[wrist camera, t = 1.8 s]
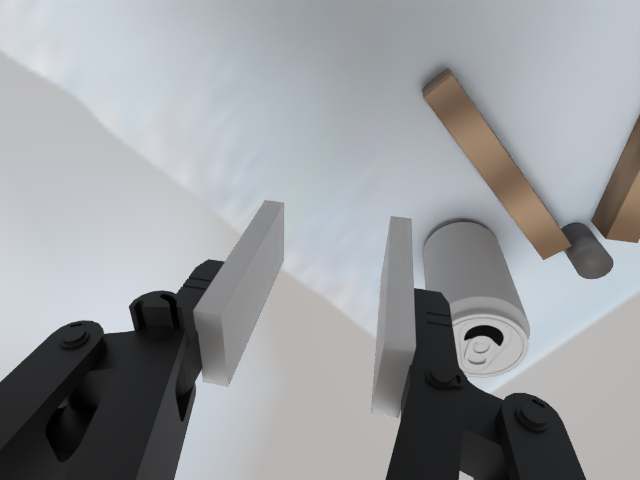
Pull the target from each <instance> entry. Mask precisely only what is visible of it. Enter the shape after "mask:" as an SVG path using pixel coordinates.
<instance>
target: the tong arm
mask: <svg viewBox="0 0 640 480" xmlns="http://www.w3.org/2000/svg"><path fill="white" fill-rule="evenodd" d="M422 91H423V96H424V99H425V100H426V101H427V103H428V104H429V105H430V107H431V108H432V109H433V111H434V112H435V114H436V115H437V116H438V118H439V119H440V120H441V122H442V123H443V124H444V126H445V127H446V128H447V130H448V131H449V133H450V134H451V135H452V137H453V138H454V139H455V141H456V142H457V143H458V145H459V146H460V147H461V149H462V150H463V152H464V153H465V154H466V156H467V157H468V158H469V160H470V161H471V162H472V164H473V165H474V166H475V168H476V169H477V171H478V172H479V173H480V175H481V176H482V177H483V179H484V180H485V181H486V183H487V184H488V185H489V187H490V188H491V190H492V191H493V192H494V194H495V195H496V196H497V198H498V199H499V200H500V202H501V203H502V204H503V206H504V207H505V209H506V210H507V211H508V213H509V214H510V215H511V217H512V218H513V219H514V221H515V222H516V223H517V225H518V226H519V227H520V229H521V230H522V232H523V233H524V234H525V236H526V237H527V238H528V240H529V241H530V242H531V244H532V245H533V246H534V248H535V249H536V251H537V252H538V253H539V255H540V256H541V257H542V259H543V260H545V259H547V258H549V257H551V256H553V255H555V254H557V253H559V252H561V251H563V250H565V249H567V248H569V247H571V246H572V245H571V244H570V242H569V241H568V239H567V238H566V236H565V235H564V233H563V232H562V230H561V229H560V227H559V226H558V224H557V223H556V222H555V220H554V219H553V217H552V216H551V214H550V213H549V212H548V210H547V209H546V207H545V206H544V204H543V203H542V201H541V200H540V199H539V197H538V196H537V194H536V193H535V191H534V190H533V189H532V187H531V186H530V184H529V183H528V181H527V180H526V179H525V177H524V176H523V174H522V173H521V171H520V170H519V168H518V167H517V166H516V164H515V163H514V161H513V160H512V158H511V157H510V156H509V154H508V153H507V151H506V150H505V148H504V147H503V146H502V144H501V143H500V141H499V140H498V138H497V137H496V135H495V134H494V133H493V131H492V130H491V128H490V127H489V125H488V124H487V123H486V121H485V120H484V118H483V117H482V115H481V114H480V113H479V111H478V110H477V108H476V107H475V105H474V104H473V102H472V101H471V100H470V98H469V97H468V95H467V94H466V92H465V91H464V90H463V88H462V87H461V85H460V84H459V82H458V81H457V80H456V78H455V77H454V75H453V74H452V72H451V71H450V69H449V68H448V69H447V70H446V71H444V72H443V73H442V74H441V75H439V76H438V77H437V78H436V79H434V80H433V81H432V82H431V83H429V84H428V85H427V86H426V87H424V88H423V89H422Z"/></svg>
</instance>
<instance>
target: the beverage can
mask: <svg viewBox="0 0 640 480" xmlns="http://www.w3.org/2000/svg"><path fill="white" fill-rule="evenodd" d="M423 261H424V275H425V288H426V290H430V291H437V292H441V293H442V294H443V295H444V297H445V298H446V300H447V301H448V302H449V304H450V311H451V318H452V324H453V326H452V328H453V331H454V338H455V345H456V351H457V358H458V364H459V367H460V369H462V371H463V372H464V374H465V375H466V376H469V377H476V378H486V377H493V376H498V375H501V374H504V373H507V372H509V371H511V370H512V369H514V368H515V367H517V366H518V365H519V364H520V363H521V362H522V361H523V360H524V358H525V356H526V354H527V352H528V339H529V335H530V327H529V323H528V320H527V317H526V315H525V312H524V309H523V307H522V304H521V301H520V299H519V296H518V293H517V290H516V288H515V285H514V282H513V280H512V277H511V274H510V272H509V269H508V266H507V264H506V261H505V258H504V256H503V253H502V250H501V248H500V245H499V242H498V240H497V238H496V237H495V236H494V234H493V233H492V232H491V231H489V230H488V229H486V228H485V227H483V226H481V225H479V224H475V223H471V222H456V223H452V224H448V225H446V226H443V227H441V228H440V229H438V230H437V231H435V232H434V233H433V234H432V235H431V236H430V237H429V239H428V240H427V242H426V244H425V247H424V251H423Z"/></svg>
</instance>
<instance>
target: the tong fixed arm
mask: <svg viewBox="0 0 640 480" xmlns="http://www.w3.org/2000/svg"><path fill="white" fill-rule="evenodd" d="M591 222H592V223H593V224H594V225H595V226H596V228H597V229H598V230H599V231H600V233H601V234H602V235H603V236H604V238H605V239H610V240H618V241H626V242H634V243H638V241H639V239H640V116H639V118H638V120H637V122H636V125H635V127H634V129H633V131H632V133H631V135H630V138H629V140H628V142H627V144H626V146H625V149H624V151H623V153H622V155H621V157H620V160H619V162H618V164H617V166H616V168H615V170H614V173H613V175H612V177H611V179H610V181H609V184H608V186H607V188H606V190H605V192H604V195H603V197H602V199H601V201H600V203H599V205H598V208H597V210H596V212H595V214H594V216H593V219H592V221H591ZM562 232H563V233H564V235H565V236H566V238H567V239H568V241H569V242H570V244H571V245H572V246H571V247H569V248H567V249H565V250H564V252H565V253H566V255H567V256H568V258H569V260H570V261H571V263H572V264H573V266H574V268H575V269H576V271H577V273H578V274H579V275H580V276H581V277H583V278H586V279H597V278H600V277H603V276H605V275H606V274H608V273H609V272H610V271H611V269H612V267H613V259H612V258H611V256H610V255H609V254H608V252H607V251H606V250H605V249H604V247H603V246H602V245H601V243H600V242H599V241H598V240H597V238H596V237H595V236H594V234H593V233H592V232H591V231H590V229H589V228H588V227H587V226H586V225H584V224H581V223H573V224H569V225H567V226H565V227H564V228H563V229H562Z"/></svg>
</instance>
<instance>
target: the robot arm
mask: <svg viewBox="0 0 640 480" xmlns="http://www.w3.org/2000/svg"><path fill="white" fill-rule="evenodd" d="M283 261H284V203H282V202H274V201H266V200H265V201H264V203H263V204H262V206H261V208H260V209H259V211H258V212H257V214H256V215H255V217H254V218H253V220H252V221H251V223H250V224H249V226H248V227H247V229H246V230H245V232H244V234H243V235H242V237H241V238H240V240H239V241H238V243H237V244H236V246H235V247H234V249H233V250H232V252H231V253H230V255H229V257H228V258H227V260H226V261H225V262H223V261H216V260H209V259H208V260H207V261H205V262H204V263H202V264H200V265H199V266H197V267H196V268H195V269H194V271H193V272H192V274H191V275H190V276H189V279H187V280H186V282H185V283H184V284H183V287H181V289H180V290H179V291H178V293H177V294H175V293H173V292H169V291H153V292H150V293H147V294H144V295H142V296H140V297H138V298H137V299H135V300H134V301H133V302H132V303H131V305H130V306H129V309H130V313H131V317H132V321H133V325H134V329H135V331H129V332H120V333H108V334H104V331H103V328H102V327H101V326H100V325H99V324H98V323H96V322H93V321H77V322H73V323H70V324H67V325H65V326H63V327H61V328H59V329H58V330H56V331H55V332H54V333H52V334H51V335H50V336H49V337H48V338H47V339H46V340H45V341H44V342H43V343H42V344H41V345H39V346H38V347H37V348H36V349H35V350H34V351H33V352H32V353H31V354H30V355H29V356H28V357H27V358H26V359H25V360H23V361H22V362H21V363H20V364H19V365H18V366H17V367H16V368H15V369H14V370H13V371H12V372H11V373H10V374H9V375H7V376H6V377H5V378H4V379H3V380H2V381H1V382H0V480H174V478H175V473H176V470H177V466H178V462H179V458H180V454H181V450H182V446H183V442H184V438H185V434H186V430H187V426H188V423H189V419H190V415H191V411H192V407H193V403H194V399H195V395H196V386H195V381H196V379H197V377H198V375H199V373H200V371H201V369H202V376H203V382H206V383H212V384H217V385H223V386H229V384H230V382H231V379H232V377H233V375H234V372H235V370H236V368H237V366H238V363H239V361H240V359H241V357H242V354H243V352H244V349H245V347H246V345H247V343H248V341H249V338H250V336H251V333H252V331H253V329H254V327H255V325H256V322H257V320H258V318H259V316H260V313H261V311H262V309H263V306H264V304H265V302H266V299H267V297H268V295H269V293H270V291H271V288H272V286H273V284H274V281H275V279H276V277H277V275H278V272H279V270H280V268H281V265H282V263H283ZM452 326H453V324H452V318H451V311H450V304H449V302H448V301H447V300H446V298H445V297H444V295H443V294H442V293H441V292H437V291H430V290H423V289H416V288H414V280H413V253H412V226H411V219H409V218H402V217H394V216H391V219H390V225H389V231H388V237H387V243H386V249H385V255H384V262H383V268H382V274H381V286H380V300H379V313H378V327H377V340H376V353H375V367H374V381H373V395H372V407H371V412H372V413H376V414H382V415H388V416H393V417H399V414H400V410H401V422H400V426H399V430H398V434H397V437H396V442H395V445H394V449H393V453H392V457H391V461H390V464H389V468H388V472H387V476H386V480H459V470H460V471H462V472H464V473H466V474H467V475H470V476H472V477H473V478H474V480H586V478H585V476H584V473H583V471H582V468H581V466H580V463H579V461H578V459H577V456H576V453H575V451H574V449H573V446H572V443H571V441H570V439H569V436H568V434H567V431H566V429H565V426H564V424H563V421H562V420H561V418H560V417H559V415H558V413H557V412H556V411H555V410H554V409H553V408H552V407H551V406H550V405H549V404H548V403H546V402H545V401H543V400H541V399H539V398H538V397H536V396H533V395H529V394H526V393H513V394H511V395H509V396H507V397H506V398H505V399H504V400H502V399H500V398H497V397H495V396H493V395H491V394H488V393H486V392H484V391H482V390H480V389H478V388H477V387H475V386H474V385H473V384H471V383H470V382H469V381H468V380H467V377H466V375H465V374H464V372H463V371H462V369H460V367H459V364H458V358H457V351H456V345H455V338H454V331H453V328H452Z"/></svg>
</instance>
